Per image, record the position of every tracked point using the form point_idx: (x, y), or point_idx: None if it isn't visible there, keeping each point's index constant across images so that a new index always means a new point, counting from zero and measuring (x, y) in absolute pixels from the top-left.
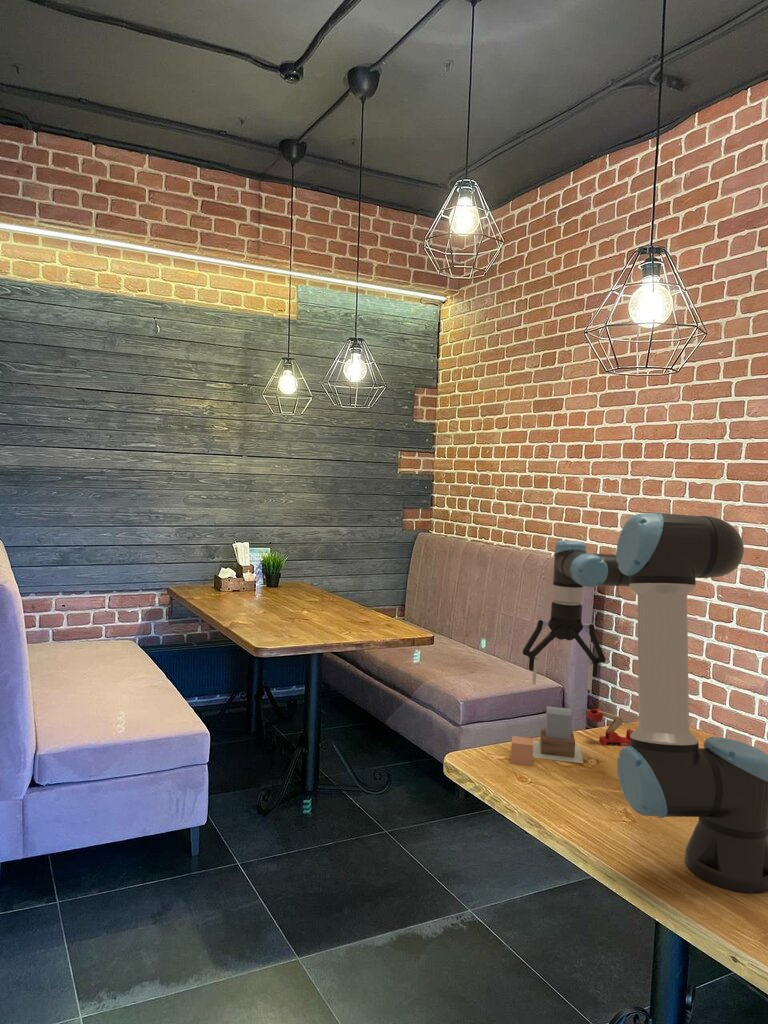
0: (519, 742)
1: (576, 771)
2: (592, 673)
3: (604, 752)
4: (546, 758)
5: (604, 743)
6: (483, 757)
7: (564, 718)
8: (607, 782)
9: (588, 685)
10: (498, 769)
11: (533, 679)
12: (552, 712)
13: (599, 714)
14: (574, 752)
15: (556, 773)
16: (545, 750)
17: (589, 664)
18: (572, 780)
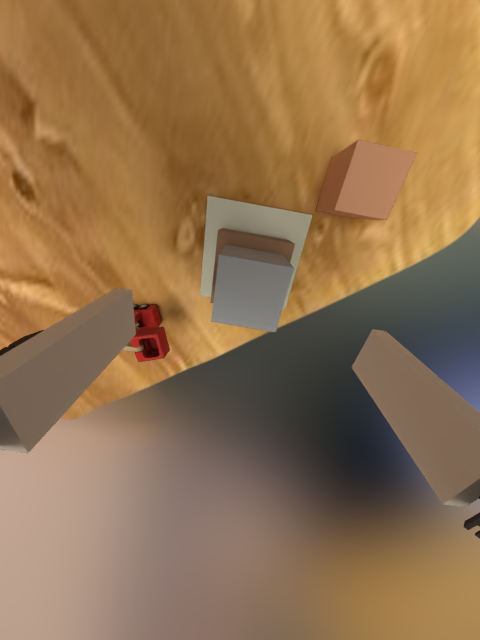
0: (391, 162)
1: (229, 166)
2: (43, 331)
3: (156, 287)
4: (284, 212)
5: (151, 307)
6: (412, 222)
7: (242, 256)
8: (168, 95)
9: (120, 303)
10: (412, 145)
11: (400, 344)
12: (275, 280)
13: (138, 335)
14: (221, 228)
15: (278, 142)
16: (281, 239)
17: (22, 408)
18: (251, 93)
